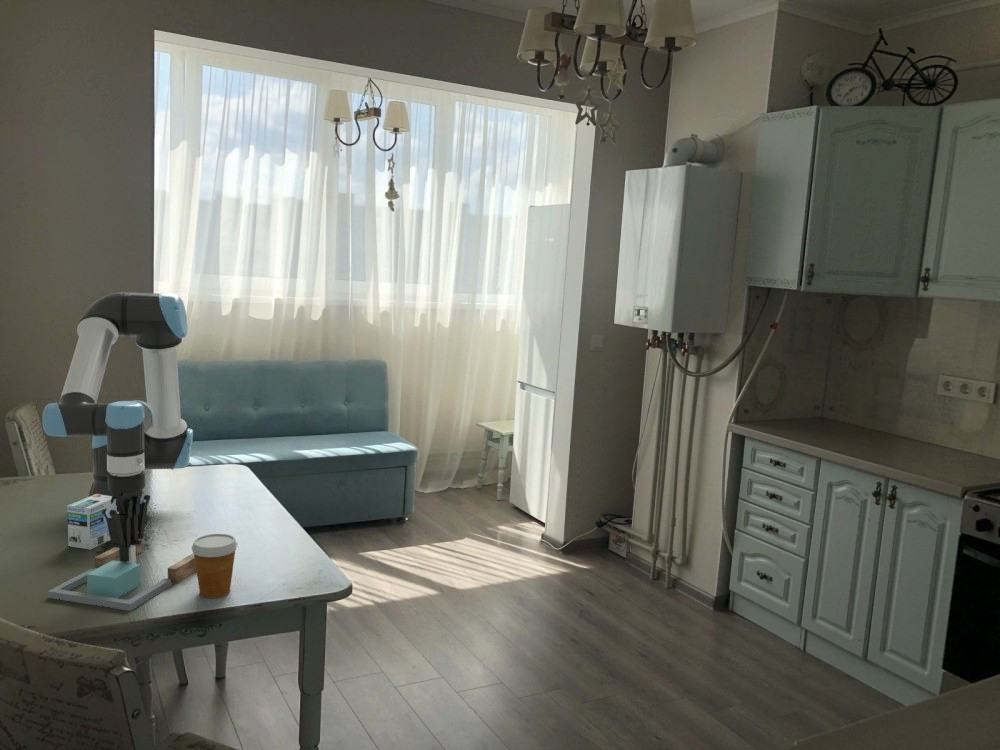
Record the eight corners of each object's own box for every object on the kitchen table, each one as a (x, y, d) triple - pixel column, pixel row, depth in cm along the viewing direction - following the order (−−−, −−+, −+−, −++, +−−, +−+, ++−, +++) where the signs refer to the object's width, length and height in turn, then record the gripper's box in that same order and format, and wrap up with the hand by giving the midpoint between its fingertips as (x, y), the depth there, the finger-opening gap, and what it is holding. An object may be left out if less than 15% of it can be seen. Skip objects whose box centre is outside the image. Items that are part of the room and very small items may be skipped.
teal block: (113, 581, 177) (112, 560, 176) (140, 585, 175) (140, 564, 174) (87, 596, 169) (86, 574, 168) (116, 600, 167) (115, 578, 167)
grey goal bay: (93, 573, 180) (93, 567, 179) (171, 585, 176) (170, 579, 175) (48, 597, 167) (47, 591, 166) (130, 611, 162) (130, 604, 162)
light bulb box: (90, 550, 193) (89, 508, 192) (67, 547, 195) (65, 505, 193) (119, 536, 204) (119, 496, 202) (97, 533, 205) (96, 493, 203)
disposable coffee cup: (192, 604, 167) (192, 550, 165) (191, 586, 176) (190, 535, 174) (239, 598, 171) (239, 545, 169) (235, 581, 179) (235, 531, 178)
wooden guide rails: (135, 550, 194) (135, 537, 194) (211, 561, 190) (211, 547, 189) (94, 571, 181) (94, 557, 180) (175, 584, 176) (175, 569, 176)
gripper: (121, 481, 166) (123, 587, 169) (160, 466, 178) (161, 564, 182) (90, 477, 167) (93, 582, 171) (131, 462, 180) (133, 560, 183)
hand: (128, 573), depth 176 cm, fingers closed
